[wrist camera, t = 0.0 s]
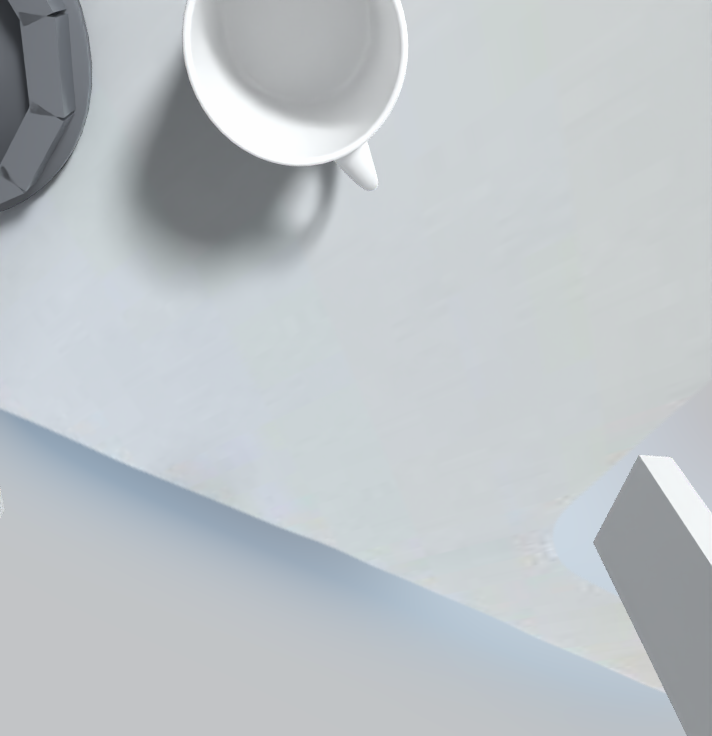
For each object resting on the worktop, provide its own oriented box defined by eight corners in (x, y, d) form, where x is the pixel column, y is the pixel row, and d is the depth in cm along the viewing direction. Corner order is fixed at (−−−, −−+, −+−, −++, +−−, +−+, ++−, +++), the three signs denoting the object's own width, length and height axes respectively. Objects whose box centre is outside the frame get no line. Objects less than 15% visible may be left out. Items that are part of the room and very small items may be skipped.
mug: (299, 190, 38) (299, 266, 29) (180, -18, 32) (133, -2, 23) (430, 120, 36) (472, 178, 28) (331, -115, 30) (344, -138, 21)
